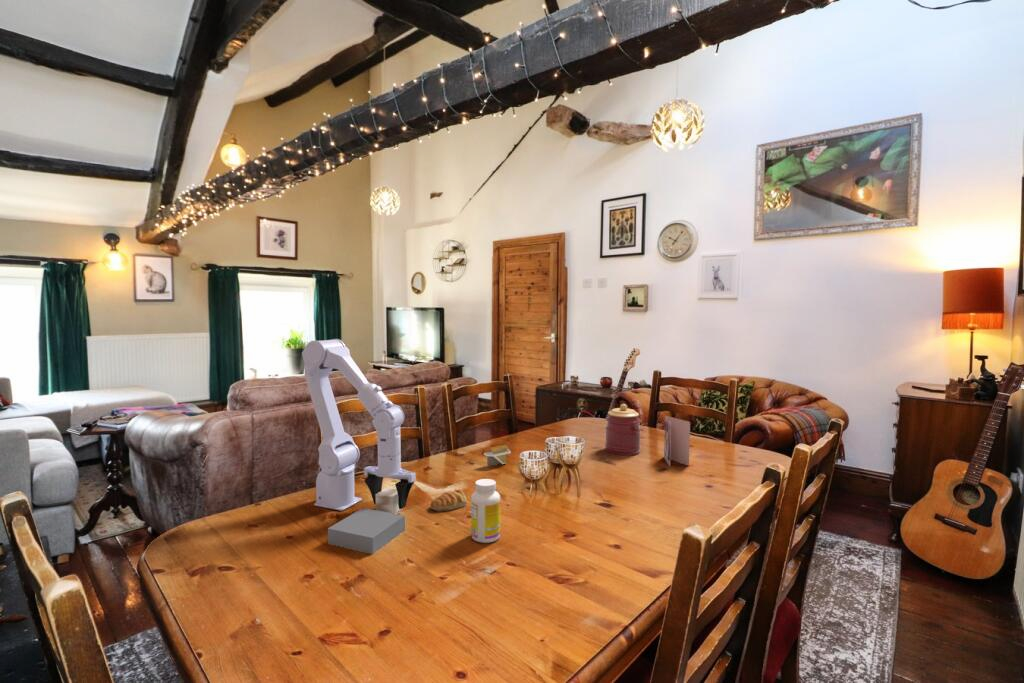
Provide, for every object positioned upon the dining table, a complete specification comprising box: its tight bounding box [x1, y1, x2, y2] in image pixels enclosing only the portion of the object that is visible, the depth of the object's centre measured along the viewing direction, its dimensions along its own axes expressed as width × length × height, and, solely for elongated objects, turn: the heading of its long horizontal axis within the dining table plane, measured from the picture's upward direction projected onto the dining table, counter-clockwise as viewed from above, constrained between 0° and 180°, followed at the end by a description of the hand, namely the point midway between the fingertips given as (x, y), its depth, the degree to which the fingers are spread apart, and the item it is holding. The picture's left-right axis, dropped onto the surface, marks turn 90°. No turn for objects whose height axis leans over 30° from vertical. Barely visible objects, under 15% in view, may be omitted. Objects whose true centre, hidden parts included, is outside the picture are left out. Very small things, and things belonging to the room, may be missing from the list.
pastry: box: [430, 488, 468, 512], centre depth 127 cm, size 9×7×4 cm
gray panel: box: [327, 507, 406, 555], centre depth 109 cm, size 12×12×4 cm
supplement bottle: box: [470, 478, 501, 544], centre depth 109 cm, size 7×7×13 cm
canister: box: [604, 403, 642, 456], centre depth 179 cm, size 13×13×18 cm
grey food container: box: [483, 445, 512, 467], centre depth 161 cm, size 12×18×7 cm, turn 128°
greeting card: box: [663, 415, 691, 467], centre depth 165 cm, size 11×7×15 cm, turn 172°
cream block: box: [375, 487, 402, 514], centre depth 124 cm, size 5×5×5 cm
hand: (389, 505), depth 124 cm, fingers open, 7 cm apart
